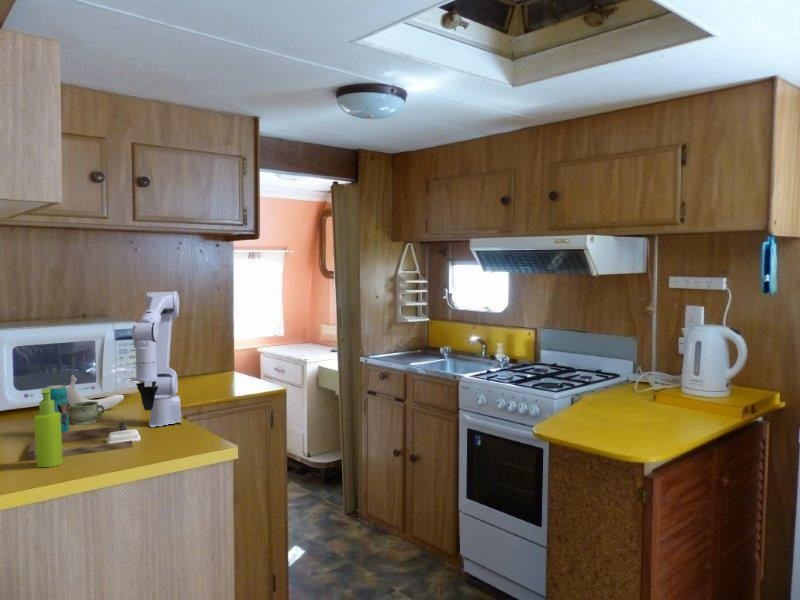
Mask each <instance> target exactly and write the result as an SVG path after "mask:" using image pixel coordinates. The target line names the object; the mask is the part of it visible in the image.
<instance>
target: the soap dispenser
mask: <svg viewBox="0 0 800 600" xmlns="http://www.w3.org/2000/svg"><path fill="white" fill-rule="evenodd" d="M50 390H51V388H47V387H45V388H42V389H41V392H40V393H41V395H42V400H41V401H39V403H38V404H39V413H38V414H35V415H34V433H35V434H34V436H35V438H36V457H37V460H36V467H37V468H39V467H49V468H53V467H52V466H54V467H57V466H56V465H58V466H60V465H62V464H63V463H64V460H63V459H64V458H63V457H64V456H63V455H62V449H63V442H62V435H61V414H60V413H59V412H55V404H54V400H52V399H50ZM59 464H60V465H59Z"/></svg>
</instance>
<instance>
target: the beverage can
mask: <svg viewBox="0 0 800 600" xmlns="http://www.w3.org/2000/svg"><path fill="white" fill-rule="evenodd" d="M46 388H51V390H50V399H52V400H54V404H55V412H59V413H60V414H61V433H62V432H69V429H70V426H69V425H70V424H69V423H70V422H69V421H68V417H69V411H68V408H69V403H68V400H67V389H66V388H67V386H66V385H64V384H56V385H49V386H47V387H46Z"/></svg>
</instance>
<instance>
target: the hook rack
mask: <svg viewBox="0 0 800 600" xmlns="http://www.w3.org/2000/svg"><path fill="white" fill-rule="evenodd" d="M127 428H128V426H127V421H121V422H118V425H115V426H106V427H99V428H89V429H80V430H72V431H68V432H62V433H61V435H62V443H65V441H66V442H72V441H73V442H74V441H81V440H91V439H97V438H98V439H99V438H106V437H108V436H109V433H111V432H117V431H124V430H128V429H127ZM90 438H91V439H90ZM129 448H133V442H132V440H131V441H123V442H115V443H107V442H106V443H100V444H92V445H85V446H77V447H69V448H64V449H63V448H62V455H63V457H68V456H75V455H82V454H91V453H98V452H105V451H106V452H107V451H113V450H121V449H122V450H123V449H129ZM36 459H37V457H36V438H35V435H34V437H33V439H32V441H31V444H30V446H29V448H28V450H27V461H28V460H32V461H37V460H36Z"/></svg>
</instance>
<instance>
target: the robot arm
mask: <svg viewBox="0 0 800 600" xmlns="http://www.w3.org/2000/svg"><path fill="white" fill-rule="evenodd" d="M179 295H180V294H179V293H178V292H177V291H176V290H175V291H156V292H155V291H153V292H152V291H148V292H147V293H146V294H145V307H146V310H145V311H143V313H142V314H141V317H140V319H139V321H138V322H136V323H135V324H132V327H131V328H132V329H131V336H132V337H131V338H132V341H133V347H134V348H135V370H136V371H135V372H136V373H135V375H136V376H135V377H132V380H131V381H132V382H138V383H136V384H135V386H136V387H137V388H136V389H137V391H138V392H139V393H140V397H141V403H142V406H143V410H144V411H149V417H150V420H149V421H148V426H149V427H150V428H156V426H159V427H164V426H163V425H167V426H169V425H168V424H174V423H176V422H181V423H182V412H181V410H182V409H181V398H180V395H176V394H178V390H179V389H178V388H179V382H178V373H177V372H176V370H174V369H173V368H171V367H170V359H171V345H172V343H171V342H172V341H171V340H172V327H173V323H174V320H176V319H177V318H178V317H179V313H180V311H179V310H180V296H179Z"/></svg>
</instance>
